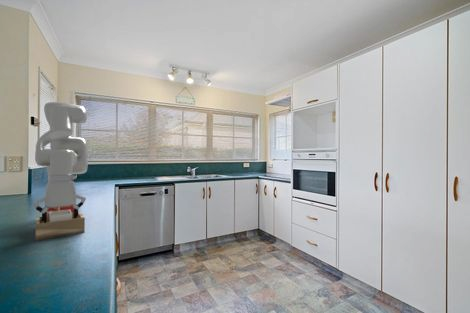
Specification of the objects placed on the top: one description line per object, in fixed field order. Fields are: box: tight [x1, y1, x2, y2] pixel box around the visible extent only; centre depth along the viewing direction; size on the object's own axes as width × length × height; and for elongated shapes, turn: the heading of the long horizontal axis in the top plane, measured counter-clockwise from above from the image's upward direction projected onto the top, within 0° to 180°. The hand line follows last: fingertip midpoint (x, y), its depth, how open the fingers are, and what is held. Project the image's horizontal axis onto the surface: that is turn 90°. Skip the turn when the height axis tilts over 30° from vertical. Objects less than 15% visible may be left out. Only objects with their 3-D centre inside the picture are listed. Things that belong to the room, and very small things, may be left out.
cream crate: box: [49, 210, 72, 222], centre depth 91 cm, size 9×7×7 cm
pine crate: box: [35, 211, 86, 242], centre depth 91 cm, size 14×15×6 cm
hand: (60, 220), depth 91 cm, fingers open, 9 cm apart
